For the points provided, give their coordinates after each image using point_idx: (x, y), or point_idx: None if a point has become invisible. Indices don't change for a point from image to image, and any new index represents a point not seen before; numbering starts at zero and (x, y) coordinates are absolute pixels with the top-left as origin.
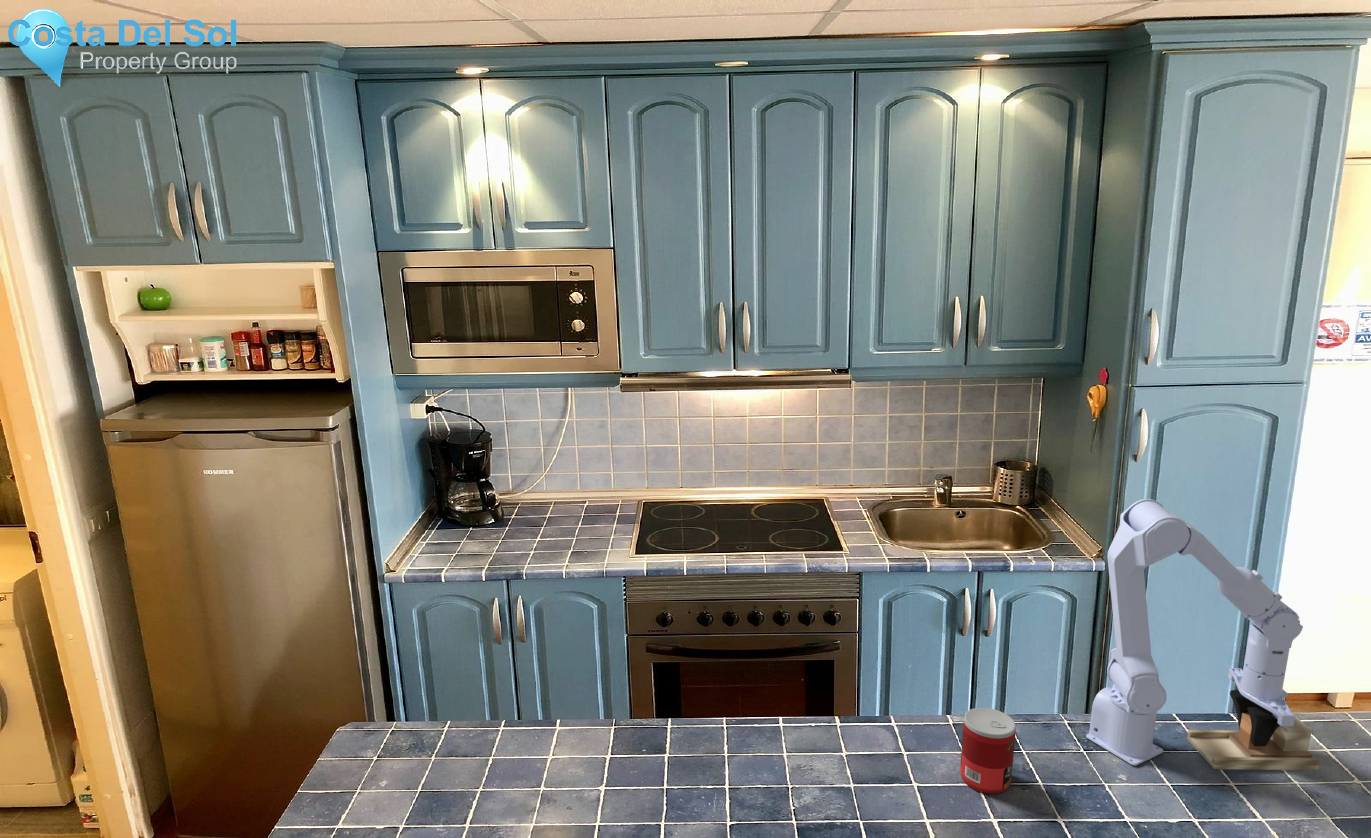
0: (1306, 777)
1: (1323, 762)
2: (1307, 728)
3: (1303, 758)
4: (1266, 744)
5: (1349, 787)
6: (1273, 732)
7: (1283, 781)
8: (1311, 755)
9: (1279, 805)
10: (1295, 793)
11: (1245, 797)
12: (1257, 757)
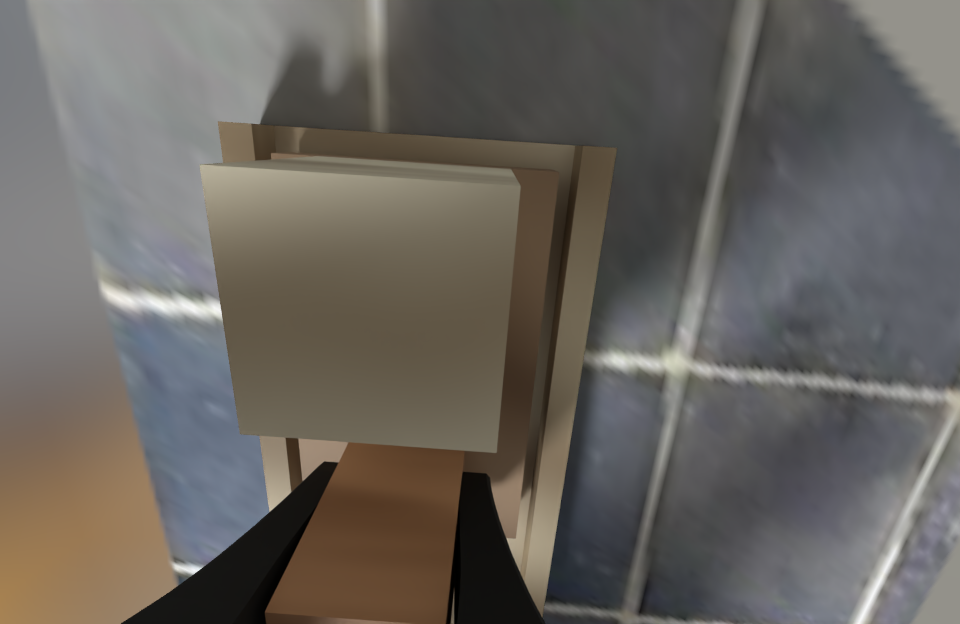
0: (651, 277)
1: (524, 36)
2: (482, 217)
3: (578, 257)
4: (489, 485)
5: (802, 66)
6: (520, 577)
7: (658, 418)
8: (556, 174)
9: (805, 539)
10: (755, 424)
11: (720, 621)
12: (536, 513)
